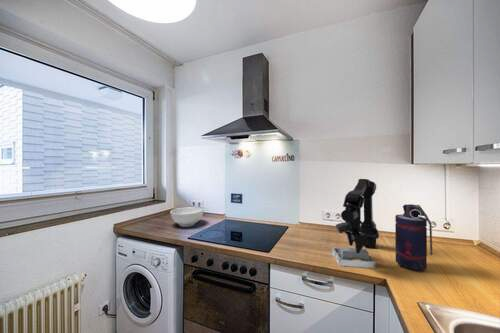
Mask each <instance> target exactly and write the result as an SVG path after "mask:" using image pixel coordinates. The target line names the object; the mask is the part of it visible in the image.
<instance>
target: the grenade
mask: <svg viewBox="0 0 500 333" xmlns="http://www.w3.org/2000/svg"><path fill="white" fill-rule="evenodd" d="M402 208H403V214H396V215H395V218H394V220H395V221H394V222H395V225H394V226H395V232H394V234H395V239H394V240H395V247H394V248H395V262H396V263H397V265H398V266H399V267H401V268H403V267H405V268H408V269H410V270H415V271H416V272H418V273H422V272H423V270H427V266H428V263H427V260H428V258H427V256H428V251H427V250H428V249H427V248H428V242H427V241H428V232H427V231H428V229H427V227H428V228H429V249H430V250H429V252H430V256H432V255H433V230H432V228H433V227H432V222H431V220H430V218H429V217H428V215H427V214H426V212H425V211H424V209H423V208H422V207H421V205H419V204H412V203H411V204H404V205H402ZM428 224H429V226H428Z"/></svg>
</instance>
